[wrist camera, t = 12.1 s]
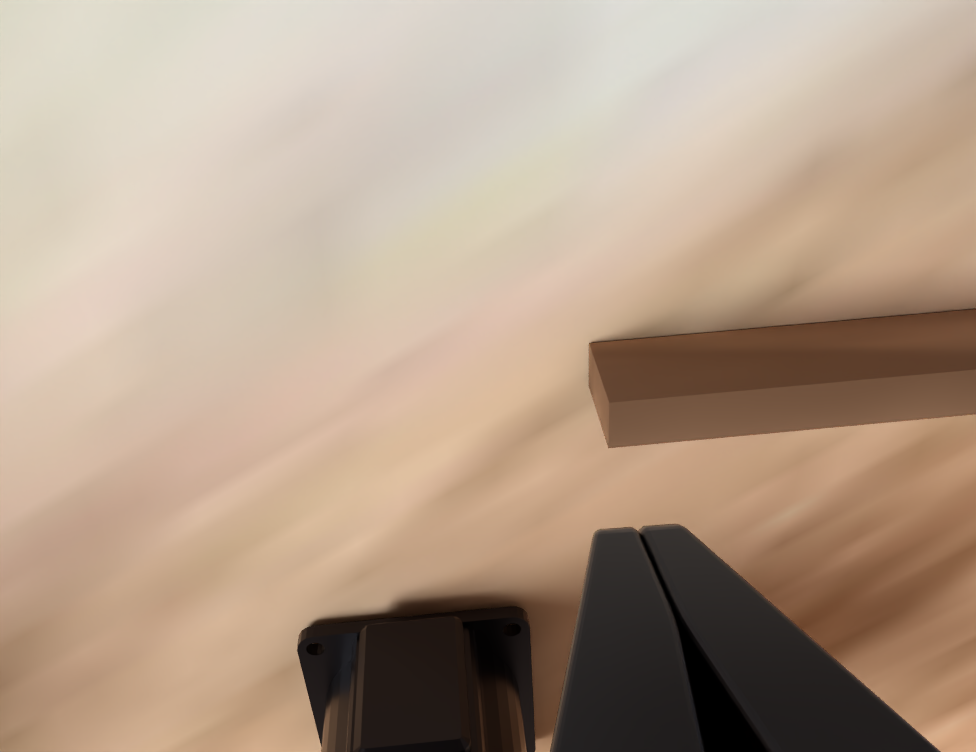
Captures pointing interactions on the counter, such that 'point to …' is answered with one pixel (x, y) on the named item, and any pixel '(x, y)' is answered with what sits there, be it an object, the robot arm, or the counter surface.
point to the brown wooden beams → (784, 378)
